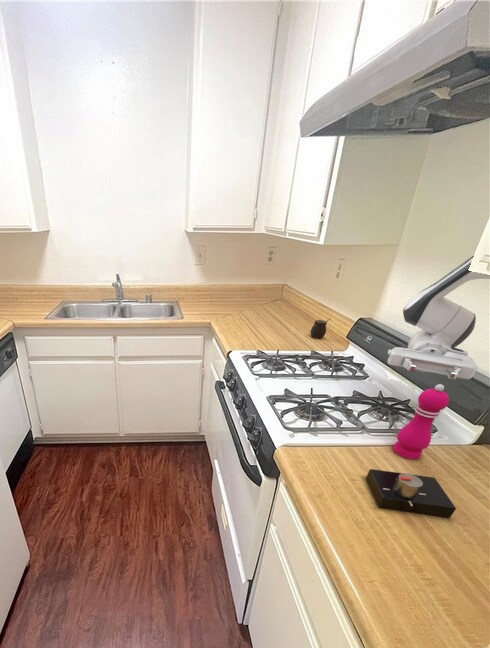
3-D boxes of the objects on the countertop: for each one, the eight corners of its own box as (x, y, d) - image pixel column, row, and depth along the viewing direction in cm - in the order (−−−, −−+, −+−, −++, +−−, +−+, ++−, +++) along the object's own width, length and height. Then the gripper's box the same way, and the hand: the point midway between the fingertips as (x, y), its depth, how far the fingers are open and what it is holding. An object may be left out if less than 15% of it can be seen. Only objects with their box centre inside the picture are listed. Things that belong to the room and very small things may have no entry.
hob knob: (411, 486, 76) (418, 473, 74) (419, 500, 73) (427, 487, 71) (389, 483, 77) (396, 470, 75) (396, 497, 74) (404, 483, 71)
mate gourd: (309, 334, 178) (314, 314, 172) (324, 336, 176) (330, 316, 170) (309, 338, 172) (314, 317, 167) (325, 340, 170) (331, 319, 165)
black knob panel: (428, 487, 81) (435, 476, 79) (452, 523, 72) (460, 512, 70) (365, 478, 83) (370, 468, 81) (380, 512, 74) (386, 501, 72)
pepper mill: (404, 442, 96) (437, 376, 85) (428, 457, 91) (467, 389, 80) (384, 447, 94) (416, 380, 83) (407, 462, 89) (444, 393, 78)
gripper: (391, 338, 104) (392, 353, 94) (474, 352, 96) (485, 369, 86) (383, 358, 107) (383, 374, 97) (463, 373, 100) (472, 392, 89)
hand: (432, 372), depth 91 cm, fingers open, 8 cm apart
